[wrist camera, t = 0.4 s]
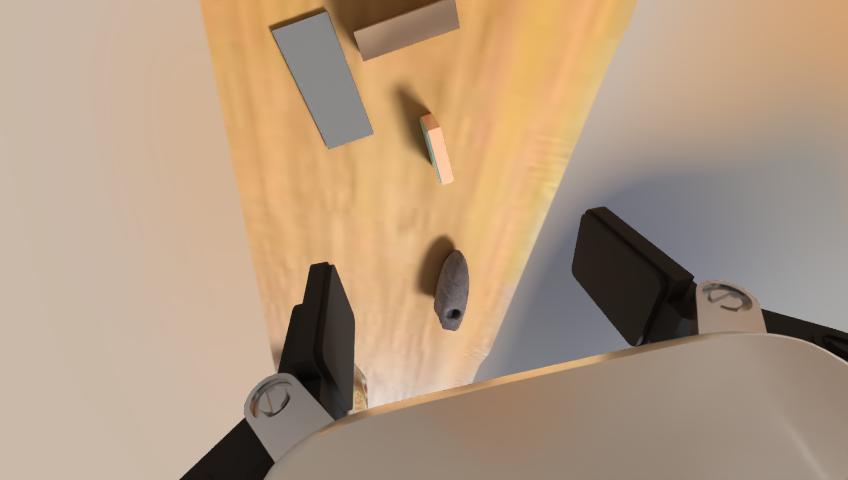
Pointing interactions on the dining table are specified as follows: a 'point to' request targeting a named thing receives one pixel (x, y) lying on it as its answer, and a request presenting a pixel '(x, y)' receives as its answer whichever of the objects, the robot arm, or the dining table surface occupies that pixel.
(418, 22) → the brown rectangular pillar
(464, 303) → the perforated stone tool
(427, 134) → the tile
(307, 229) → the dining table surface
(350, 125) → the mat
